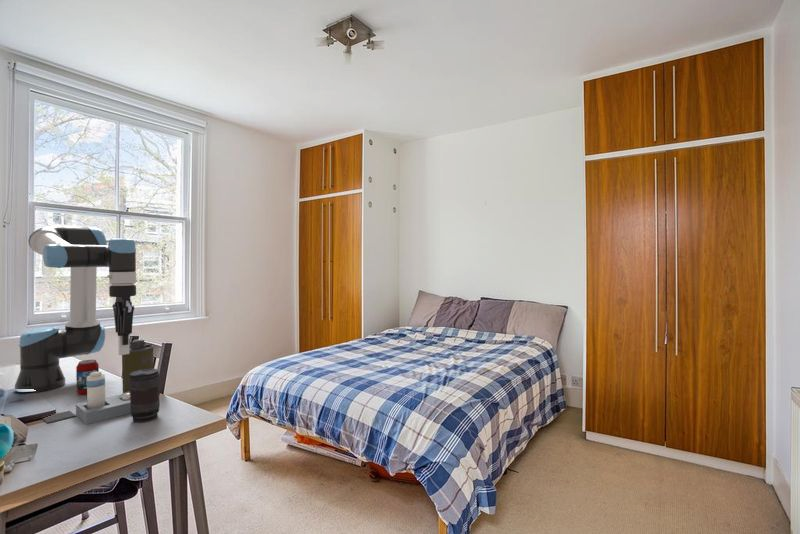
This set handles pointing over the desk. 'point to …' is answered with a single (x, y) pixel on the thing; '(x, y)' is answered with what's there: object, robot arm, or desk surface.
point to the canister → (136, 360)
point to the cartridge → (95, 390)
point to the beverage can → (85, 374)
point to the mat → (59, 417)
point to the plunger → (126, 396)
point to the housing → (103, 410)
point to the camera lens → (144, 394)
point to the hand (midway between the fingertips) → (124, 354)
